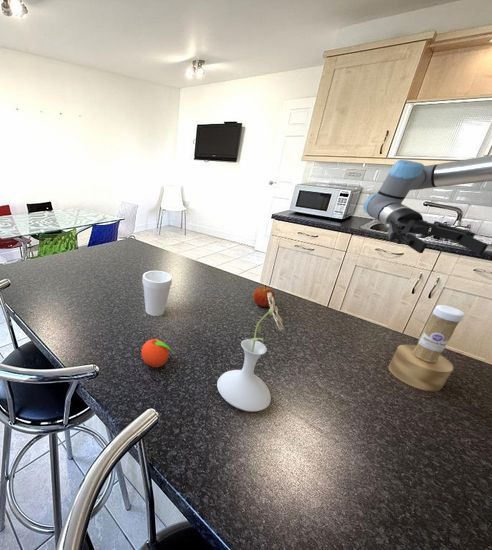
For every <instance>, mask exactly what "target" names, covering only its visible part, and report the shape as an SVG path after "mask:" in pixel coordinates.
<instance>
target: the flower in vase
mask: <svg viewBox="0 0 492 550" xmlns="http://www.w3.org/2000/svg"><path fill="white" fill-rule="evenodd" d="M267 297H268V301H269V305H270V306H269V309H268V311H267V312H266V313H265V314H264V315H263V316H262V317H261V319H259V320H257V322H256V327H255V329H254V335H253V338H247V339H244V340H243V339H242V341H241V342H240V346H241V348H242V349H243V353H244V359H243V360H244V361H243V365H242V368H241V369H231V370H228V371H225V372H223V373H222V374H221V375H220V376H219V378H218V379H217V382H216V387H217V390H218V392H219V394H220V396H221V397H222V399H223V400H224V401H225V402H226V403H227V404H229V405H230V406H232V407H234V408H236V409H238V410H241V411H244V412H250V413H251V412H252V413H253V412H259V411H263V410H265V409H267V408H268V407H269V405H270V404H271V402H272V401H271V400H272V398H271V397H272V396H271V392H270V389H269V387H268V386H267V384H266V383H265V382H264V381H263V380H262V379H261V378H260V377H259V376H257V375H256V374H255V367H256V364H257V362H258V360H259V359H260V358H261V356H262V355H265V354H266V353H267V351H268V348H267V346H266V345H265V344H264V343H263V342H261V341H264V338H263V337H257V332H258V334H261V333H262V325H261V323H262V322H263V321H264V319H265V318H266V317H267V316H268V315H271V316H273V319H274V322H275V324H276V326H277V328H278V329H279V331H280V332H281V331H283V330H284V329H285V327H284V325H283V323H282V322H283V319H282V317H281V316H280V314H279V308H278V306H277V305H276V303H275V299H274V297H272V293H270V292H269V293H267Z"/></svg>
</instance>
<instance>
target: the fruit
mask: <svg viewBox="0 0 492 550" xmlns="http://www.w3.org/2000/svg"><path fill="white" fill-rule="evenodd" d="M269 292H270V293H272V297H274V300H275V299H276V295H275V292H274V291H273V289H271V288H270V287H267V285H266V284H265V285H264V286H260V287H257V288H256V289H255V290H254V292H253V294H252V299H253V302H254V303H255V305H257V306H258V307H261V308H265V307H266V308H267V307H270V305H269V301H268V297H267V293H269Z"/></svg>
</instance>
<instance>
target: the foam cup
mask: <svg viewBox="0 0 492 550" xmlns="http://www.w3.org/2000/svg"><path fill="white" fill-rule="evenodd" d="M172 282H173V276H172V274H170V273H168V272H166V271H163V270H149V271H146V272H144V273H143V274H142V286H143V296H144V308H145V313H146V314H147V315H149V316H152V317H160V316H162V315H164V313H165V312H166V311H165V310H166V307H167V303H168V299H169V294H170V289H171V286H172V284H173V283H172Z"/></svg>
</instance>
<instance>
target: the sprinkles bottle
mask: <svg viewBox="0 0 492 550" xmlns="http://www.w3.org/2000/svg"><path fill="white" fill-rule="evenodd" d="M464 316H465V313H464V311H462V310H461V309H459V308H456V307H453V306H450V305H445V304H438V305H436V306H435V307H434V309H433V310H432V316H431V317H430V319H429V321H428V322H427V324H426V325H425V327H424V329H423V331H422V333H421V335H420V337H419V338H418V341H417V343H416V345H415V346H416V347H415V349H414V350H413V352H412V353H413V354H414V355H415V356H416V357H417V358H419V359H421V360H423V361H426V362H431V363H434V362H437V361H438V358H439V356H440V355H442V353H443V351H444V350H445V348H446V347H447V345H448V343H449V341H450V340H451V338H452V336H453V334H454V332H455V330H456V328H457V326H458V325H459V323H460V322H461V321H462V320H463V318H464Z"/></svg>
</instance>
